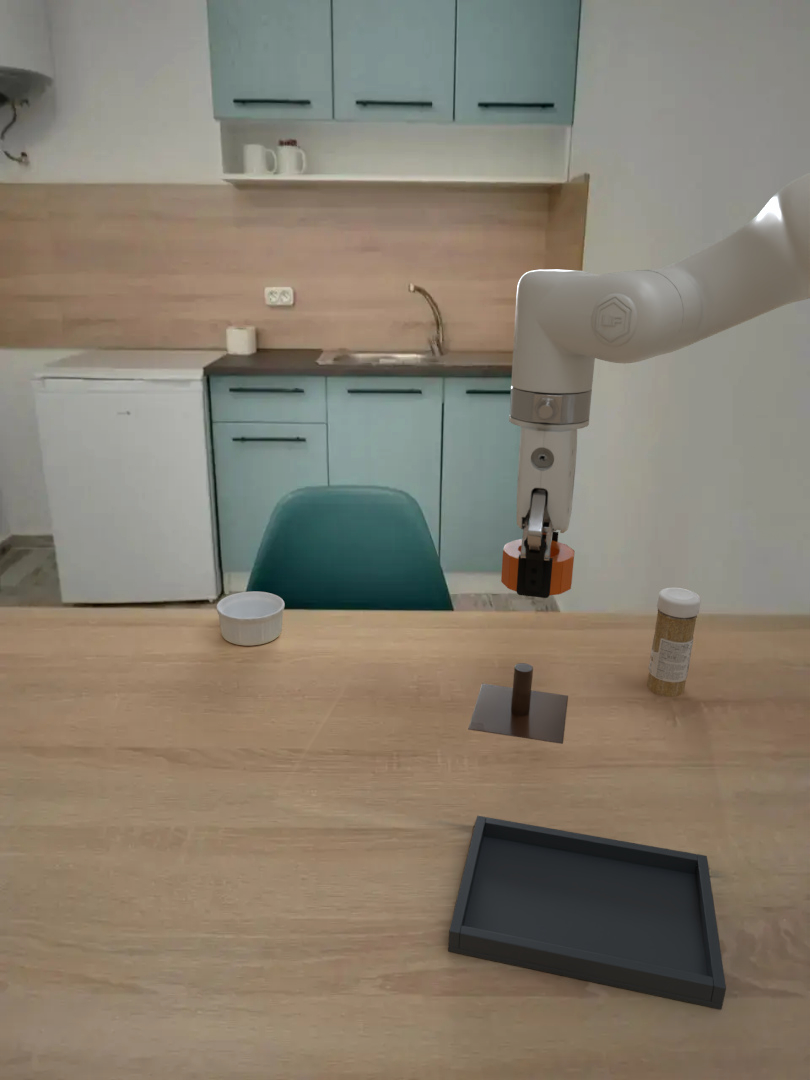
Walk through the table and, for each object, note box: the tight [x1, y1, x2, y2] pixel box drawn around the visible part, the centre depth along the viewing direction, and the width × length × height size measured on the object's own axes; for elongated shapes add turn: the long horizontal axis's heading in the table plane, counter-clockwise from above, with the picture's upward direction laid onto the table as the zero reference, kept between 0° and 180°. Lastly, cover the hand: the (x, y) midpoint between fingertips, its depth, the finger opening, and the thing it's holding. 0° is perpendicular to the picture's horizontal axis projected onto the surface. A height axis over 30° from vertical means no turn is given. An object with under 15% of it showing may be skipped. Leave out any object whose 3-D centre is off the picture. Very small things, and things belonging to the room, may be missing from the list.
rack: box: [468, 662, 569, 745], centre depth 91 cm, size 10×10×7 cm
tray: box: [447, 815, 727, 1010], centre depth 66 cm, size 20×14×2 cm
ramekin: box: [216, 590, 286, 647], centre depth 110 cm, size 9×9×4 cm
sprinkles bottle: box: [646, 587, 701, 698], centre depth 95 cm, size 5×5×14 cm
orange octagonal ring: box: [500, 538, 575, 596], centre depth 84 cm, size 7×7×4 cm
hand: (536, 579), depth 84 cm, fingers closed on orange octagonal ring, 7 cm apart
